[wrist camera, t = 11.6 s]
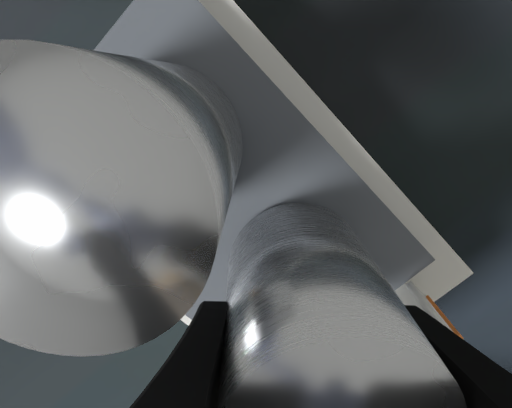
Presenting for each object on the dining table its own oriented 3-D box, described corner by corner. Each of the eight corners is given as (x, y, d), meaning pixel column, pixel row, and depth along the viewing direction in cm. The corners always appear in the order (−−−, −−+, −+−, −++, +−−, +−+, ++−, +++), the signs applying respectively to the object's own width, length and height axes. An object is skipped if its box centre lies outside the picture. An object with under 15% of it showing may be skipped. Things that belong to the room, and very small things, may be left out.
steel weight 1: (117, 224, 11) (-30, 372, 6) (69, 78, 10) (-196, 79, 4) (255, 202, 11) (246, 335, 5) (225, 47, 9) (170, 2, 4)
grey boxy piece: (31, 165, 13) (-85, 218, 9) (196, -33, 11) (161, -106, 6) (292, 370, 17) (310, 483, 12) (448, 251, 15) (540, 334, 10)
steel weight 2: (219, 309, 12) (198, 509, 7) (241, 191, 11) (239, 321, 5) (340, 327, 13) (415, 527, 7) (378, 215, 11) (510, 358, 6)
